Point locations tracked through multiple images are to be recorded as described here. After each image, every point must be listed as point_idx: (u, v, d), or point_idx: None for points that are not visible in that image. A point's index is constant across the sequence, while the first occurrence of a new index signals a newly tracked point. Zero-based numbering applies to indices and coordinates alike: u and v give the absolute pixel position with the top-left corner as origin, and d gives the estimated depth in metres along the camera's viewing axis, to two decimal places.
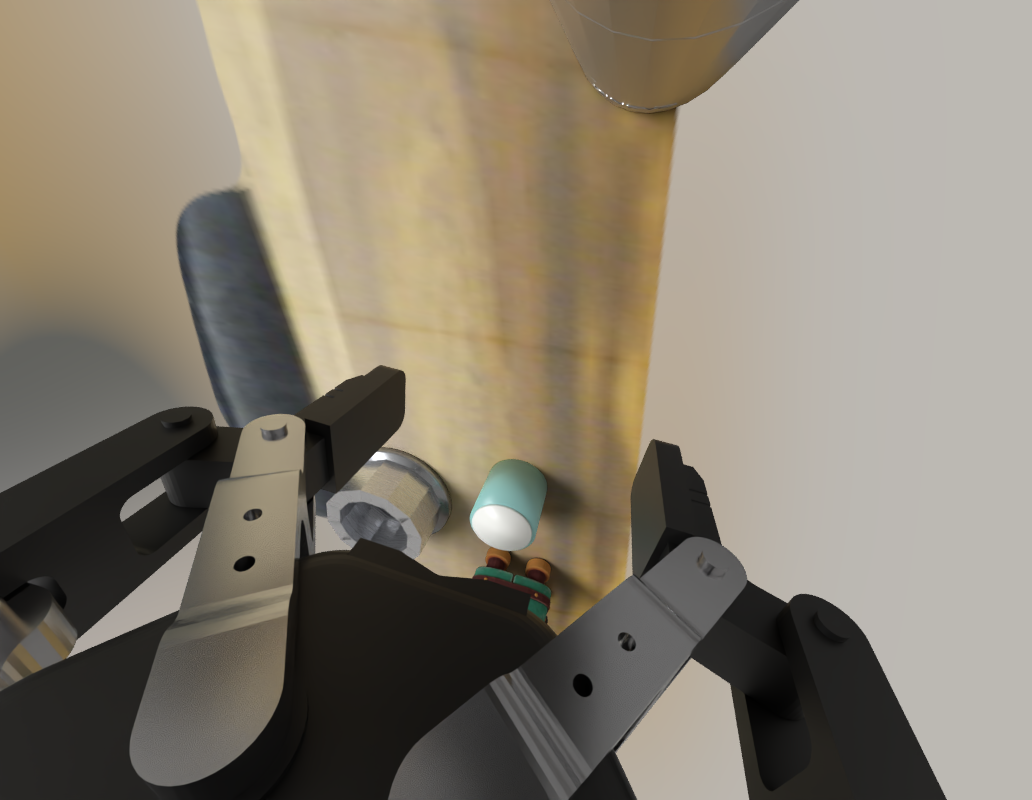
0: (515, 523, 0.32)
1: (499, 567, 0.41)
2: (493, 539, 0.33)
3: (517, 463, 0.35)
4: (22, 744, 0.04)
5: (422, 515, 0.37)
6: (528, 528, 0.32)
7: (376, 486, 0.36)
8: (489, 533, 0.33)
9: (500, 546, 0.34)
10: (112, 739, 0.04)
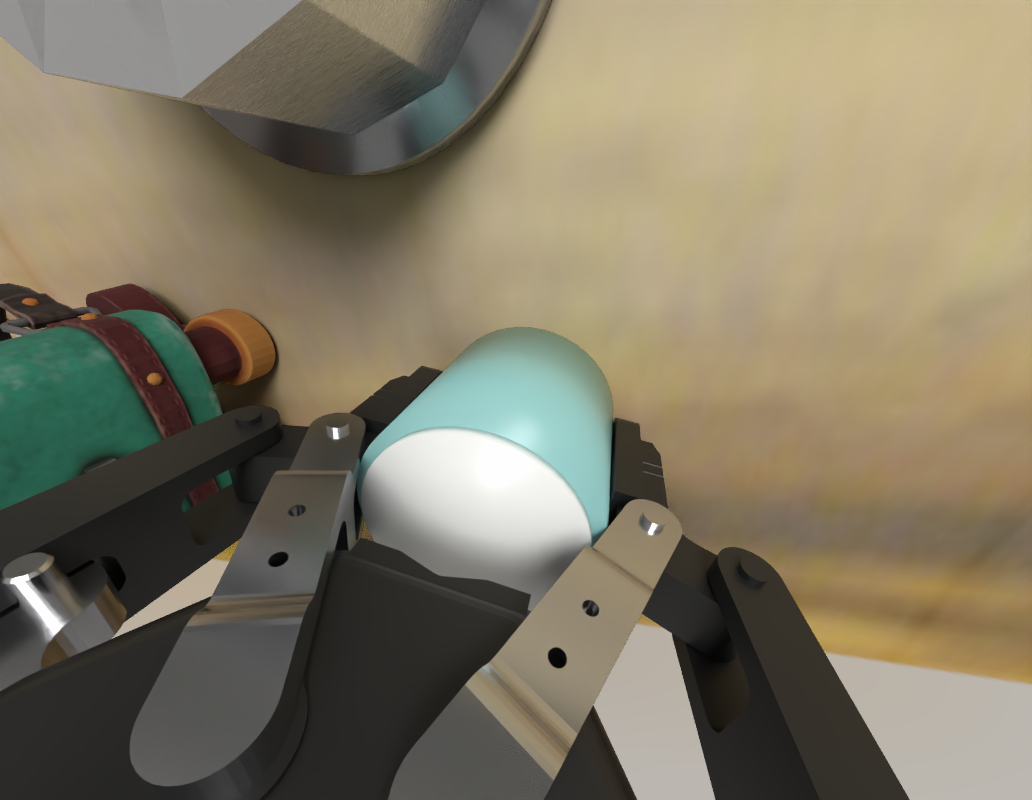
0: (520, 583, 0.09)
1: (216, 377, 0.13)
2: (401, 501, 0.08)
3: None
4: (24, 744, 0.04)
5: (315, 75, 0.07)
6: None
7: None
8: (429, 494, 0.08)
9: (380, 518, 0.09)
10: (112, 739, 0.04)
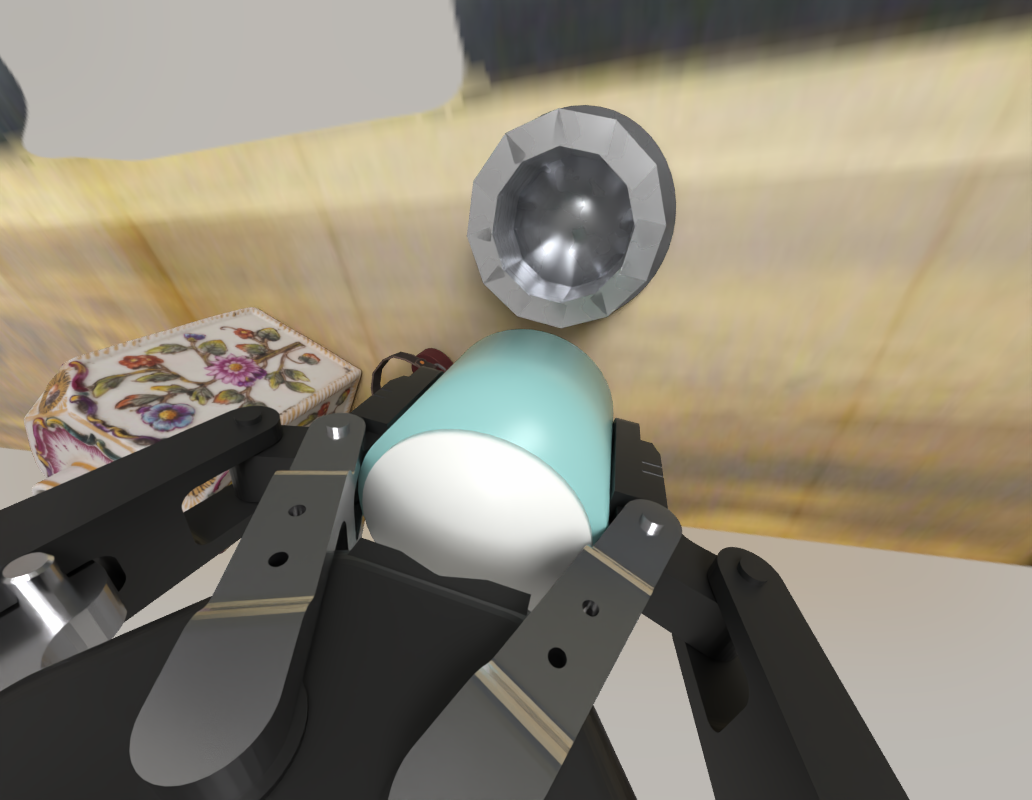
0: (521, 585, 0.09)
1: None
2: (402, 504, 0.08)
3: None
4: (23, 744, 0.04)
5: None
6: None
7: None
8: (429, 496, 0.08)
9: (381, 520, 0.09)
10: (112, 739, 0.04)
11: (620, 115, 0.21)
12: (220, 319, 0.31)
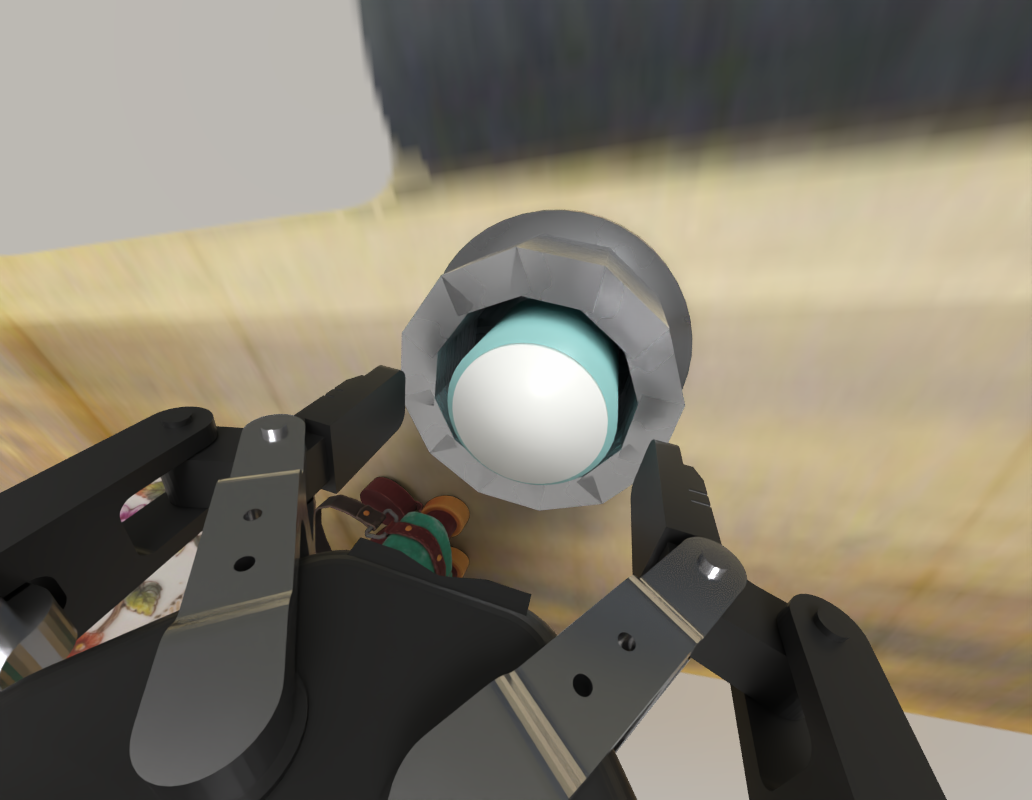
0: (559, 455, 0.13)
1: None
2: (481, 398, 0.13)
3: None
4: (22, 744, 0.04)
5: None
6: (550, 479, 0.14)
7: None
8: (501, 390, 0.12)
9: (464, 413, 0.13)
10: (112, 739, 0.04)
11: (611, 224, 0.15)
12: None
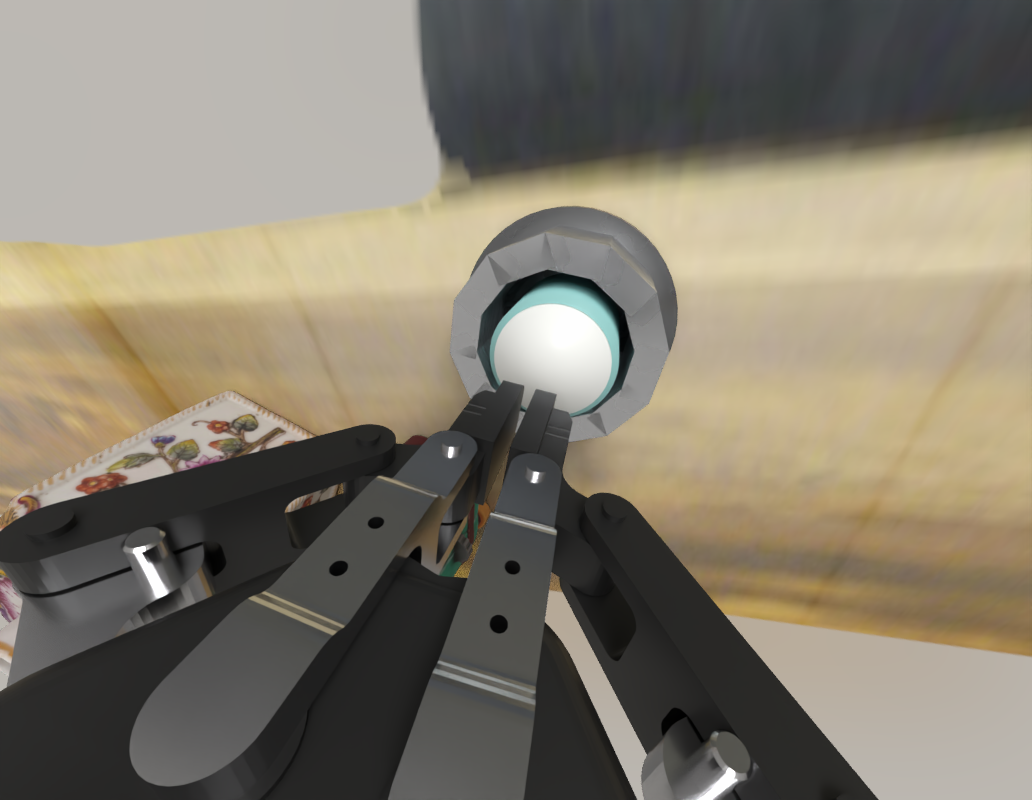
0: (574, 390, 0.17)
1: None
2: (517, 347, 0.17)
3: None
4: (27, 743, 0.04)
5: None
6: (567, 411, 0.18)
7: None
8: (532, 340, 0.17)
9: (503, 359, 0.17)
10: (112, 739, 0.04)
11: (613, 217, 0.19)
12: (192, 412, 0.29)
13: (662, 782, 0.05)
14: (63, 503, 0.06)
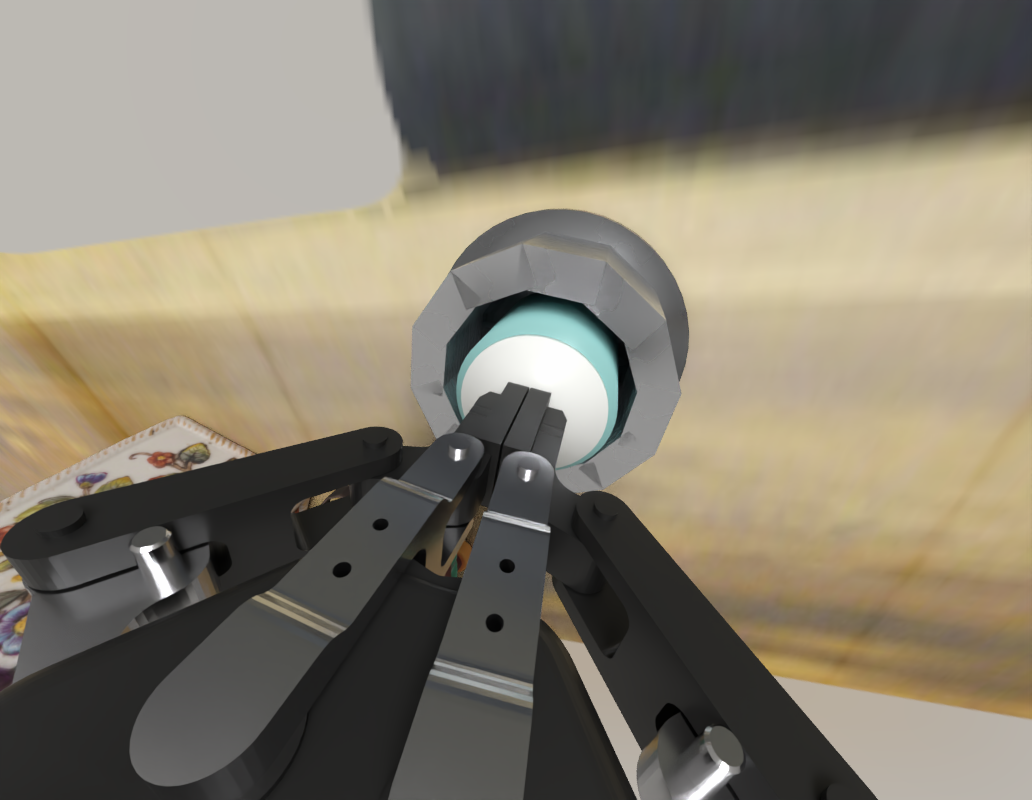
0: (562, 441, 0.14)
1: None
2: (489, 387, 0.13)
3: None
4: (27, 743, 0.04)
5: None
6: None
7: None
8: (508, 379, 0.13)
9: (472, 401, 0.14)
10: (112, 739, 0.04)
11: (611, 223, 0.15)
12: (131, 443, 0.25)
13: (658, 773, 0.05)
14: (73, 500, 0.06)
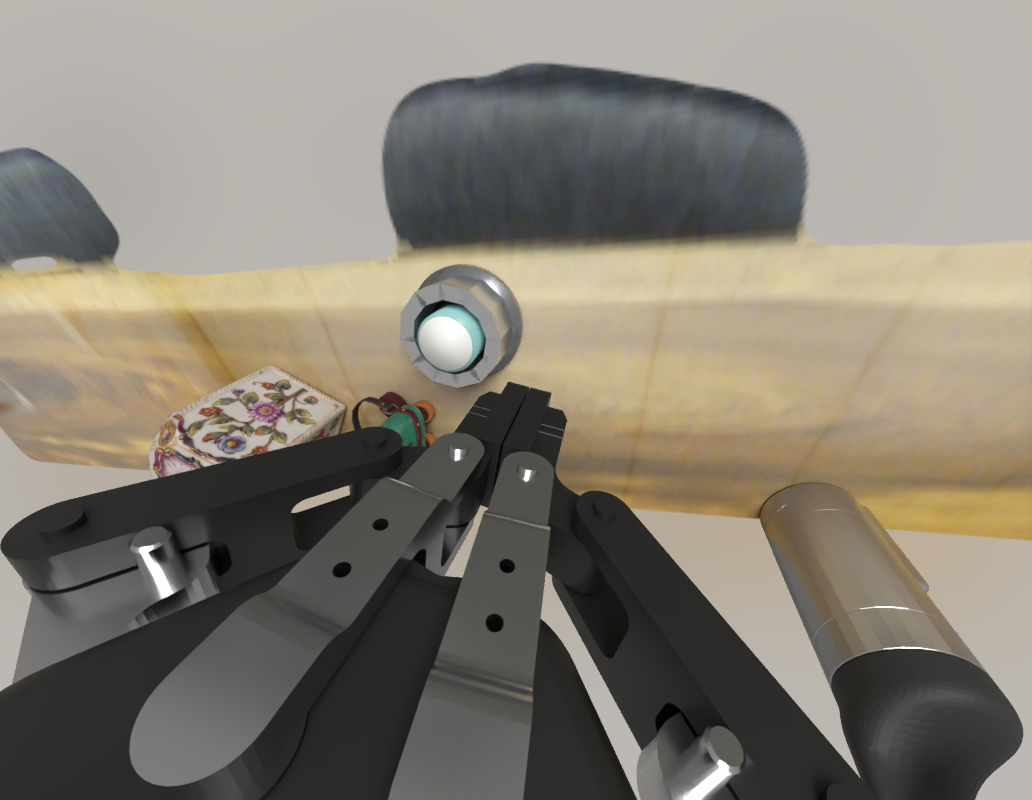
0: (457, 357, 0.36)
1: None
2: (429, 336, 0.36)
3: None
4: (28, 743, 0.04)
5: None
6: (456, 368, 0.37)
7: (502, 345, 0.37)
8: (435, 333, 0.35)
9: (423, 342, 0.36)
10: (112, 739, 0.04)
11: (482, 271, 0.38)
12: (252, 377, 0.47)
13: (658, 773, 0.05)
14: (73, 500, 0.06)
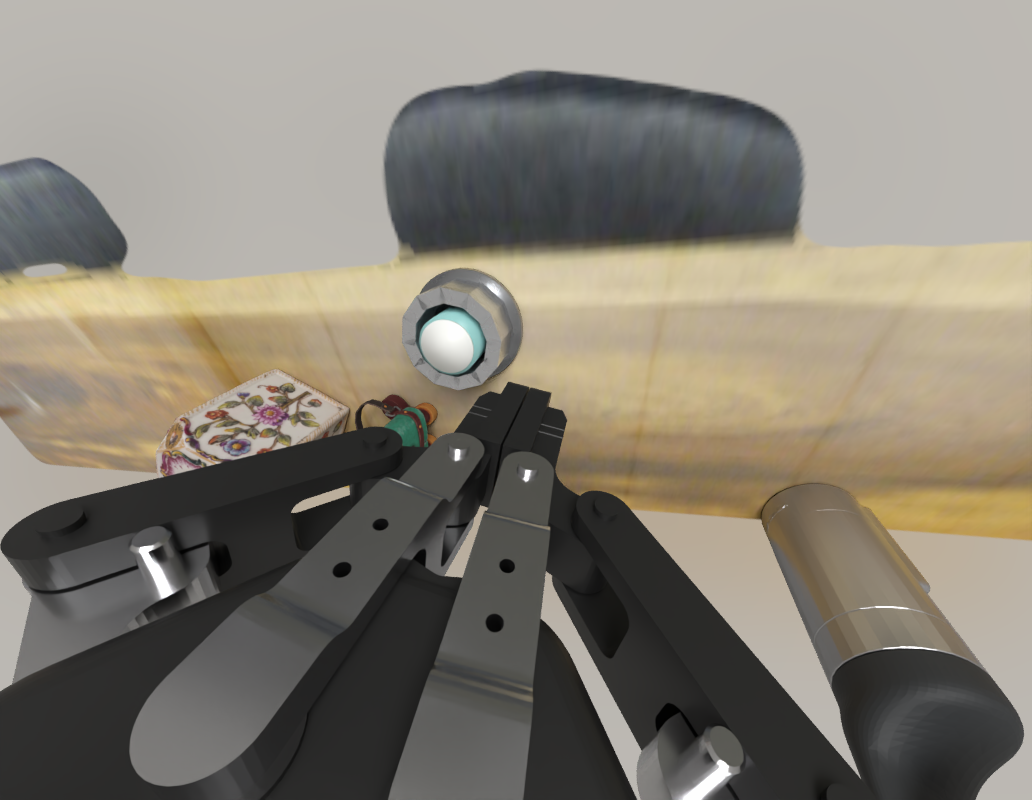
0: (458, 360, 0.36)
1: None
2: (430, 339, 0.36)
3: None
4: (27, 743, 0.04)
5: None
6: (457, 370, 0.37)
7: (502, 348, 0.37)
8: (437, 336, 0.36)
9: (425, 345, 0.37)
10: (112, 739, 0.04)
11: (483, 275, 0.38)
12: (257, 380, 0.48)
13: (658, 773, 0.05)
14: (73, 500, 0.06)
